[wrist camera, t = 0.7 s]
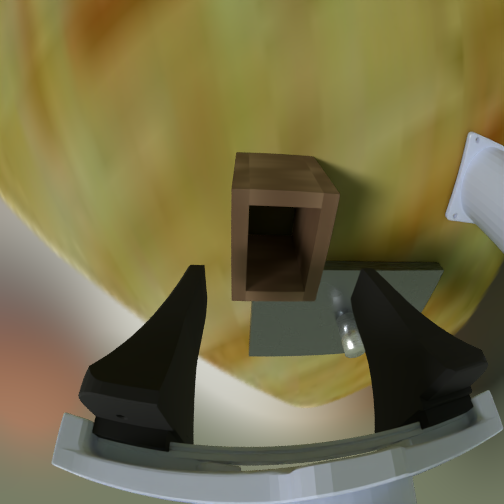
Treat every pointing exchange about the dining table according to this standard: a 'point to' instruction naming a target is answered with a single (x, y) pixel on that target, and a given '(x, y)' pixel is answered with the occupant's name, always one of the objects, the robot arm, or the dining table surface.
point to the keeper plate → (333, 310)
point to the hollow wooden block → (280, 246)
